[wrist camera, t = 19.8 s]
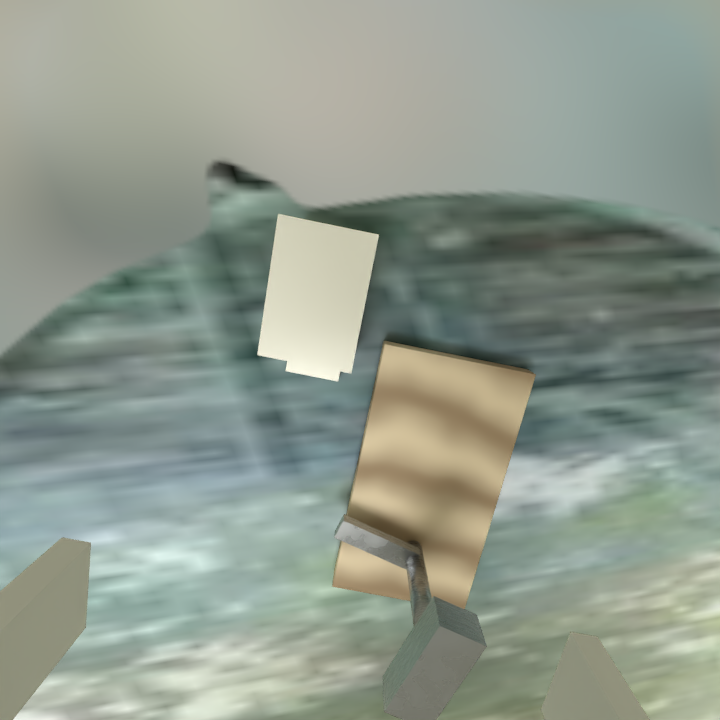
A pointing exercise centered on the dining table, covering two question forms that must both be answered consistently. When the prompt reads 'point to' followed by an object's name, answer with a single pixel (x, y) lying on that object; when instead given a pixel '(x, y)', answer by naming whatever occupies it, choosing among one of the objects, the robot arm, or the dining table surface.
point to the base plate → (432, 466)
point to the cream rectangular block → (316, 296)
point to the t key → (420, 632)
